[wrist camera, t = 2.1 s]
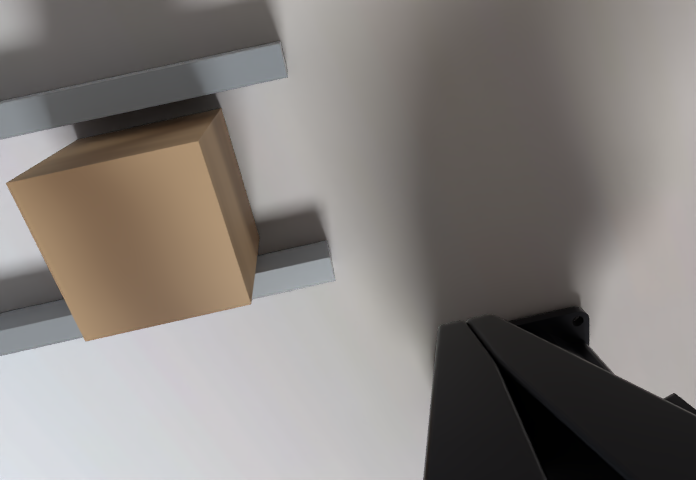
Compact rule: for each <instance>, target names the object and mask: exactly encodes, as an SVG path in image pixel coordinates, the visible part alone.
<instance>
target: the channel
mask: <svg viewBox="0 0 696 480" xmlns="http://www.w3.org/2000/svg"><path fill="white" fill-rule="evenodd" d="M286 77H288V71H287V67H286V63H285V58H284V54H283V50H282V45H281V41H277V42H273V43H268V44H264V45H259V46H254V47H250V48H245V49H240V50H236V51H231V52H226V53H222V54H217V55H213V56H208V57H203V58H199V59H194V60H189V61H185V62H180V63H176V64H171V65H166V66H162V67H157V68H152V69H148V70H143V71H138V72H134V73H129V74H125V75H120V76H115V77H111V78H106V79H101V80H97V81H92V82H87V83H83V84H78V85H74V86H69V87H64V88H60V89H55V90H50V91H46V92H41V93H36V94H32V95H27V96H23V97H18V98H13V99H9V100H4V101H0V140H1V139H5V138H10V137H15V136H19V135H24V134H28V133H33V132H38V131H42V130H47V129H51V128H56V127H61V126H65V125H70V124H74V123H79V122H84V121H88V120H93V119H97V118H102V117H107V116H111V115H116V114H120V113H125V112H130V111H134V110H139V109H144V108H148V107H153V106H157V105H162V104H167V103H171V102H176V101H180V100H185V99H190V98H194V97H199V96H203V95H208V94H213V93H217V92H222V91H226V90H231V89H236V88H240V87H245V86H249V85H254V84H259V83H263V82H268V81H273V80H277V79H282V78H286ZM332 281H335V275H334V269H333V264H332V259H331V255H330V251H329V246H328V242H327V241H322V242H318V243H313V244H309V245H304V246H300V247H295V248H291V249H286V250H282V251H277V252H273V253H268V254H264V255H259V256H257V262H256V270H255V278H254V286H253V294H252V299H256V298H261V297H265V296H270V295H274V294H278V293H283V292H287V291H292V290H296V289H301V288H305V287H310V286H314V285H319V284H323V283H327V282H332ZM82 337H83V336H82V334H81V332H80V330H79V328H78V326H77V324H76V322H75V320H74V318H73V316H72V314H71V312H70V310H69V308H68V306H67V304H66V302H65V300H64V299H62V300H58V301H53V302H49V303H44V304H40V305H35V306H31V307H26V308H22V309H17V310H13V311H8V312H4V313H0V356H2V355H7V354H11V353H16V352H20V351H25V350H29V349H34V348H38V347H42V346H47V345H51V344H56V343H60V342H65V341H69V340H74V339H78V338H82Z"/></svg>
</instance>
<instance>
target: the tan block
mask: <svg viewBox="0 0 696 480" xmlns="http://www.w3.org/2000/svg"><path fill="white" fill-rule="evenodd" d="M6 184H7V186H8V188H9V190H10V192H11V194H12V196H13V198H14V200H15V202H16V204H17V206H18V208H19V210H20V212H21V214H22V216H23V218H24V220H25V222H26V224H27V226H28V228H29V230H30V232H31V234H32V236H33V238H34V240H35V242H36V244H37V246H38V248H39V250H40V252H41V254H42V256H43V258H44V260H45V262H46V264H47V266H48V268H49V270H50V272H51V274H52V276H53V278H54V280H55V282H56V284H57V286H58V288H59V290H60V292H61V294H62V296H63V298H64V300H65V302H66V304H67V306H68V308H69V310H70V312H71V314H72V316H73V318H74V320H75V322H76V324H77V326H78V328H79V330H80V332H81V334H82V336H83V338H84V340H85V341H90V340H94V339H99V338H103V337H108V336H112V335H116V334H121V333H125V332H130V331H134V330H139V329H143V328H148V327H152V326H156V325H161V324H165V323H170V322H174V321H179V320H183V319H188V318H192V317H196V316H201V315H205V314H210V313H214V312H219V311H223V310H228V309H232V308H236V307H241V306H245V305H250V304H251V301H252V294H253V286H254V278H255V270H256V262H257V255H258V247H259V239H260V237H259V234H258V230H257V227H256V224H255V220H254V217H253V214H252V210H251V207H250V203H249V200H248V197H247V193H246V190H245V187H244V183H243V180H242V176H241V173H240V170H239V166H238V163H237V160H236V156H235V153H234V150H233V146H232V143H231V139H230V136H229V133H228V129H227V126H226V123H225V119H224V116H223V112H222V109H221V108H219V109H215V110H210V111H206V112H201V113H197V114H192V115H187V116H183V117H178V118H174V119H169V120H165V121H160V122H155V123H151V124H146V125H142V126H137V127H133V128H128V129H124V130H119V131H114V132H110V133H105V134H101V135H96V136H92V137H87V138H82V139H78V140H76V141H75V142H73V143H71V144H70V145H68V146H66V147H65V148H63V149H61V150H60V151H58V152H56V153H55V154H53V155H52V156H50V157H48V158H47V159H45V160H43V161H42V162H40V163H38V164H37V165H35V166H33V167H32V168H30V169H29V170H27V171H25V172H24V173H22V174H20V175H19V176H17V177H15V178H14V179H12V180H11V181H9V182H7V183H6Z"/></svg>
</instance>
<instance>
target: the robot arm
mask: <svg viewBox="0 0 696 480" xmlns="http://www.w3.org/2000/svg"><path fill="white" fill-rule="evenodd" d="M578 316H579V317H578ZM576 317H578V319H577V320H575V321H573V319H574V318H576ZM423 480H696V409H694V408H693V407H692V406H690V405H689V404H688V403H687V402H685V401H684V400H683V399H682V398H680V397H679V396H678V395H676V394H675V393H673V394H671V395H670V396H668V397H666V398H664V399H662V398H660V397H658V396H656V395H654V394H652V393H650V392H648V391H646V390H644V389H642V388H640V387H638V386H636V385H634V384H632V383H630V382H628V381H626V380H624V379H622V378H620V377H618V376H616V375H615V374H614V373H613V372H612V371H611V370H610V369H609V368H608V367H607V366H606V364H605V363H604V362H603V361H602V360H601V359H600V358H599V357H598V355H597V354H596V353H595V352H594V351H593V350H592V349H591V348H590V347H589V316H588V314H587V313H586V312H585V311H584V310H583V309H582V308H580V307H570V308H566V309H562V310H557V311H553V312H548V313H544V314H540V315H535V316H531V317H526V318H522V319H518V320H513V321H509V322H508V321H506V320H504V319H502V318H500V317H497V316H495V315H493V314H487V315H483V316H478V317H474V318H469V319H468V320H467V321H466V322H465V321H456V322H452V323H447V324H443V325H440V326H439V327H438V332H437V342H436V353H435V363H434V374H433V384H432V394H431V405H430V415H429V426H428V436H427V446H426V457H425V467H424V478H423Z"/></svg>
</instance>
